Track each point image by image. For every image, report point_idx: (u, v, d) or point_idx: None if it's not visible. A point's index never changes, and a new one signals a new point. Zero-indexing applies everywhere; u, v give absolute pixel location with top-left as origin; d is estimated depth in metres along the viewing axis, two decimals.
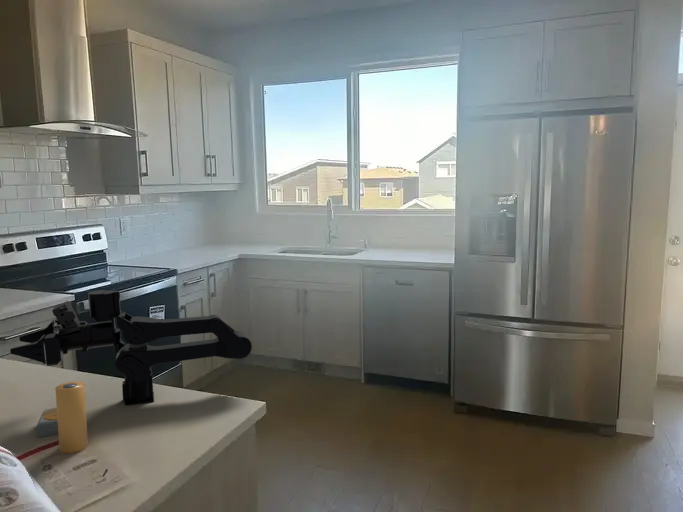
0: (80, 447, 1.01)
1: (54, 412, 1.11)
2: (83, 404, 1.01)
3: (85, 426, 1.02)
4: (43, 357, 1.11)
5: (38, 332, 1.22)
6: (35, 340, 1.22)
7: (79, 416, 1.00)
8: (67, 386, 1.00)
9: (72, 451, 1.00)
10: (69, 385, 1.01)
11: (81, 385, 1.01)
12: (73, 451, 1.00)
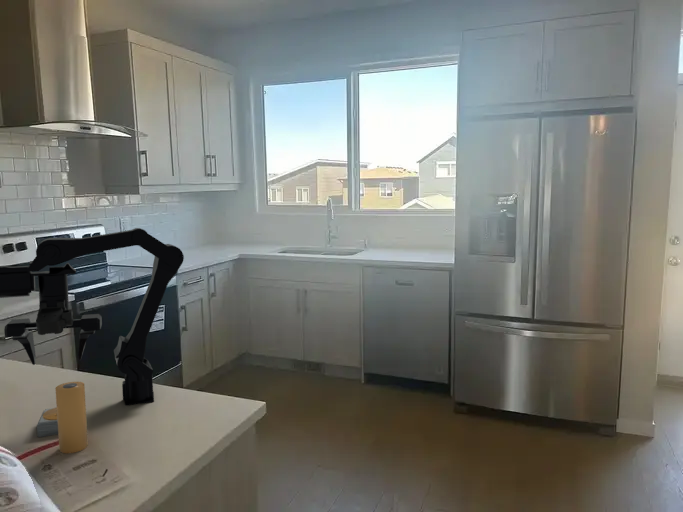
0: (80, 447, 1.01)
1: (54, 412, 1.11)
2: (83, 404, 1.01)
3: (85, 426, 1.02)
4: None
5: (31, 348, 1.15)
6: (34, 349, 1.17)
7: (79, 416, 1.00)
8: (67, 386, 1.00)
9: (72, 451, 1.00)
10: (69, 385, 1.01)
11: (81, 385, 1.01)
12: (73, 451, 1.00)
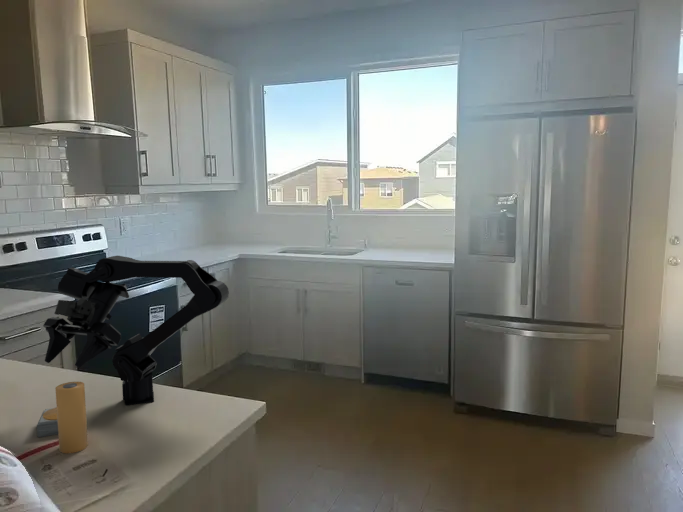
0: (80, 447, 1.01)
1: (54, 412, 1.11)
2: (83, 404, 1.01)
3: (85, 426, 1.02)
4: (108, 344, 1.16)
5: (53, 344, 1.17)
6: (57, 351, 1.18)
7: (79, 416, 1.00)
8: (67, 386, 1.00)
9: (72, 451, 1.00)
10: (69, 385, 1.01)
11: (81, 385, 1.01)
12: (73, 451, 1.00)
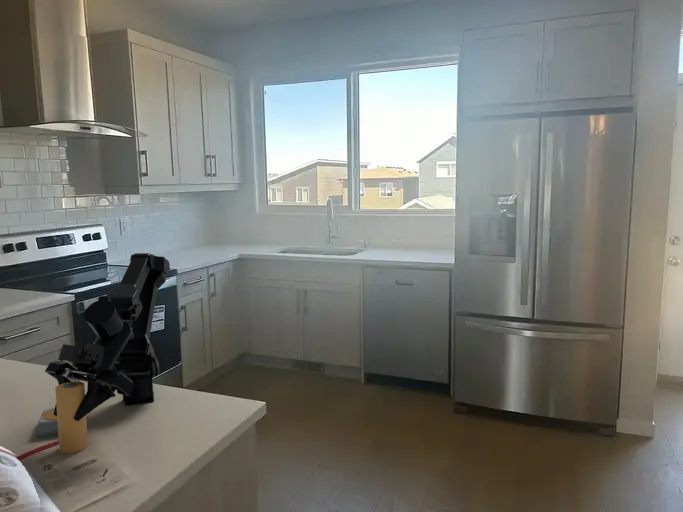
0: (80, 447, 1.01)
1: None
2: None
3: (85, 426, 1.02)
4: (111, 393, 1.03)
5: None
6: None
7: None
8: (67, 386, 1.00)
9: (72, 451, 1.00)
10: (69, 385, 1.01)
11: (81, 385, 1.01)
12: (73, 451, 1.00)
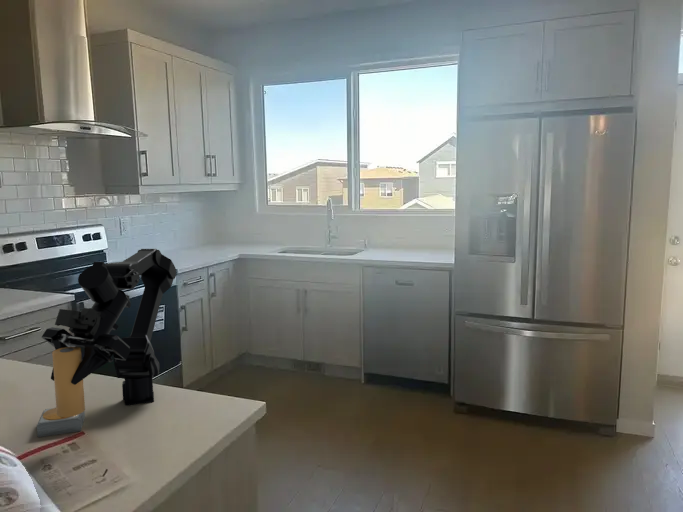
0: (78, 411, 1.02)
1: (54, 412, 1.11)
2: None
3: (82, 390, 1.03)
4: (108, 357, 1.03)
5: None
6: None
7: None
8: (64, 351, 1.01)
9: (69, 415, 1.01)
10: (66, 349, 1.01)
11: (78, 350, 1.02)
12: (70, 415, 1.01)
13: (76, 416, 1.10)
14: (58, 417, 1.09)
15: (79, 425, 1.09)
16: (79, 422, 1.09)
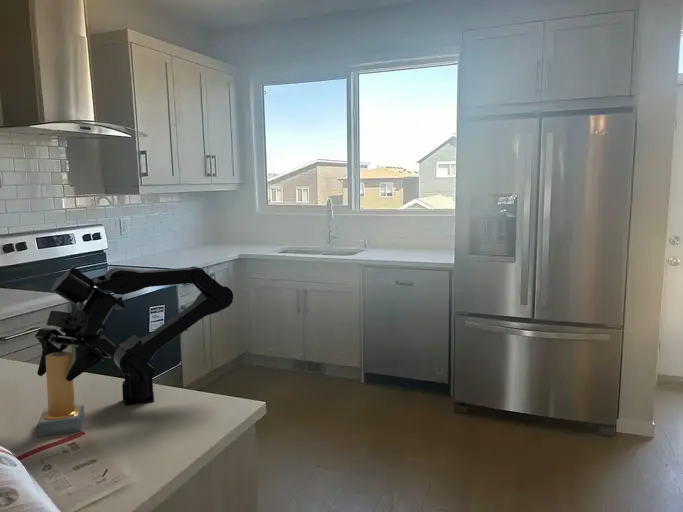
0: (68, 411, 1.10)
1: None
2: None
3: (72, 392, 1.11)
4: (101, 356, 1.11)
5: None
6: None
7: (67, 382, 1.10)
8: (57, 355, 1.10)
9: (60, 414, 1.09)
10: (58, 354, 1.10)
11: (69, 354, 1.11)
12: (61, 414, 1.09)
13: (76, 416, 1.10)
14: (58, 417, 1.09)
15: (79, 425, 1.09)
16: (79, 422, 1.09)
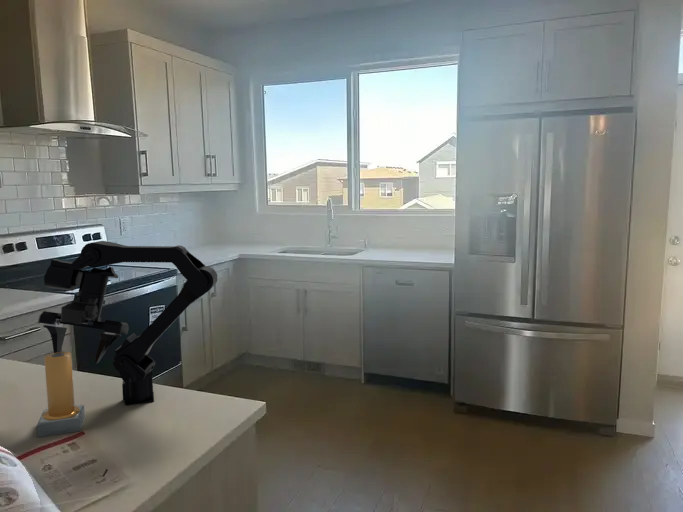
0: (68, 411, 1.10)
1: None
2: (70, 372, 1.10)
3: (72, 392, 1.11)
4: (119, 336, 1.23)
5: (57, 340, 1.19)
6: (61, 344, 1.21)
7: (66, 382, 1.09)
8: (55, 355, 1.09)
9: (60, 414, 1.09)
10: (57, 354, 1.10)
11: (68, 354, 1.10)
12: (61, 414, 1.09)
13: (76, 416, 1.10)
14: (58, 417, 1.09)
15: (79, 425, 1.09)
16: (79, 422, 1.09)
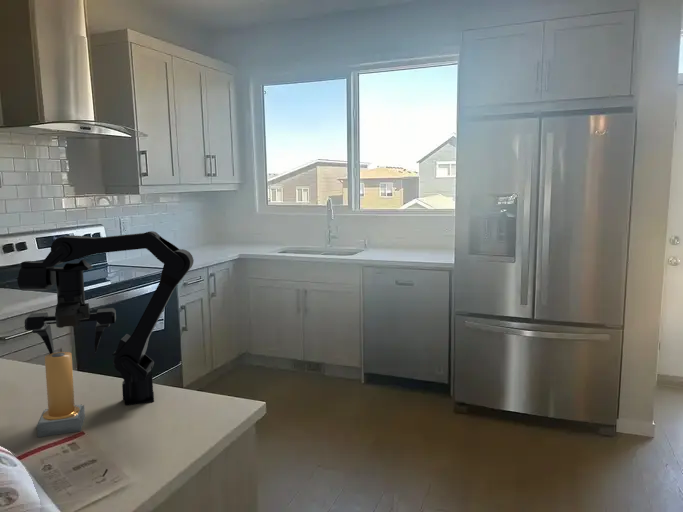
0: (68, 411, 1.10)
1: None
2: (70, 372, 1.10)
3: (72, 392, 1.11)
4: None
5: (50, 340, 1.21)
6: (52, 342, 1.22)
7: (66, 382, 1.09)
8: (56, 355, 1.09)
9: (60, 415, 1.09)
10: (57, 354, 1.10)
11: (68, 355, 1.10)
12: (61, 415, 1.09)
13: (76, 416, 1.10)
14: (58, 417, 1.09)
15: (79, 425, 1.09)
16: (79, 422, 1.09)
